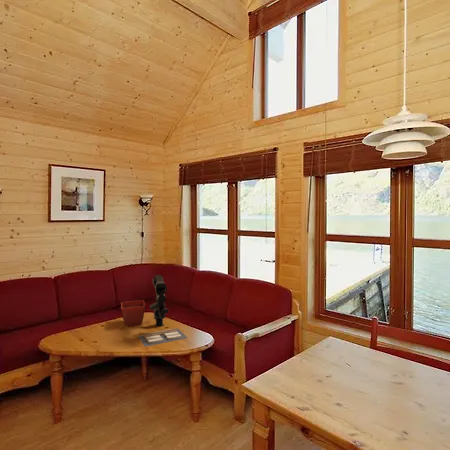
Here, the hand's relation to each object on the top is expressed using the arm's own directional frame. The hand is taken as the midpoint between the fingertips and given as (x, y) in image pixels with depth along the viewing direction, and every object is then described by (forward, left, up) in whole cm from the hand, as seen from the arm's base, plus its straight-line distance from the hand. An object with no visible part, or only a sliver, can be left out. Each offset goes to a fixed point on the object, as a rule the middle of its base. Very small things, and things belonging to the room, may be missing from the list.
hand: (161, 319), depth 249 cm
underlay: (+6, -1, -12) cm, 13 cm away
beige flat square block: (+9, +6, -12) cm, 16 cm away
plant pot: (-36, -14, -12) cm, 41 cm away
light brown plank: (0, -1, -12) cm, 12 cm away
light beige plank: (+9, -8, -12) cm, 17 cm away
